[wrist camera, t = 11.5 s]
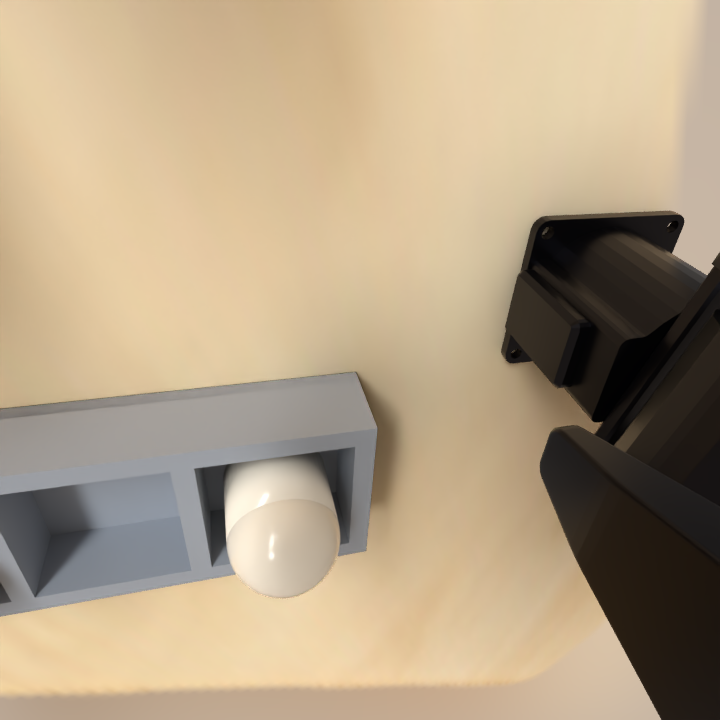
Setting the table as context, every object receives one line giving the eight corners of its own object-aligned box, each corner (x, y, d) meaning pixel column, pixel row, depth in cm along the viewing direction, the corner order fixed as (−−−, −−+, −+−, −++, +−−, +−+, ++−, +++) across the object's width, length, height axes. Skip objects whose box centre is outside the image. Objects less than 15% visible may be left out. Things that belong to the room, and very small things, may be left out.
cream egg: (320, 414, 23) (354, 539, 18) (319, 483, 25) (349, 609, 20) (217, 427, 22) (223, 562, 17) (226, 496, 24) (234, 632, 19)
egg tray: (355, 372, 23) (377, 428, 20) (348, 491, 27) (366, 551, 24) (-243, 434, 18) (-320, 517, 16) (-137, 565, 23) (-184, 649, 20)
